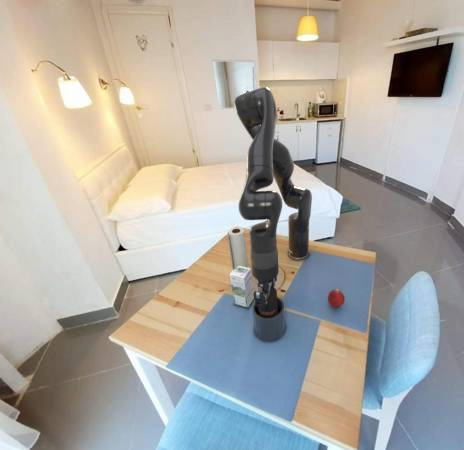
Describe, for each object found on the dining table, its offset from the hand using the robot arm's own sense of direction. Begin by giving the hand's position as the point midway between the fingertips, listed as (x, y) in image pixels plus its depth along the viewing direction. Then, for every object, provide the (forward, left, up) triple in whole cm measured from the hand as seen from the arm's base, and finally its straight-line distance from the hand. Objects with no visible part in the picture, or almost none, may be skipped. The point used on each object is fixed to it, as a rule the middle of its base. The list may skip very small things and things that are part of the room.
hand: (267, 303), depth 77 cm
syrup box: (-9, -13, -12) cm, 20 cm away
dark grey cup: (0, 0, -11) cm, 11 cm away
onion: (-15, +20, -12) cm, 28 cm away
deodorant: (0, 0, -11) cm, 11 cm away
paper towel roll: (-23, -21, -12) cm, 33 cm away
